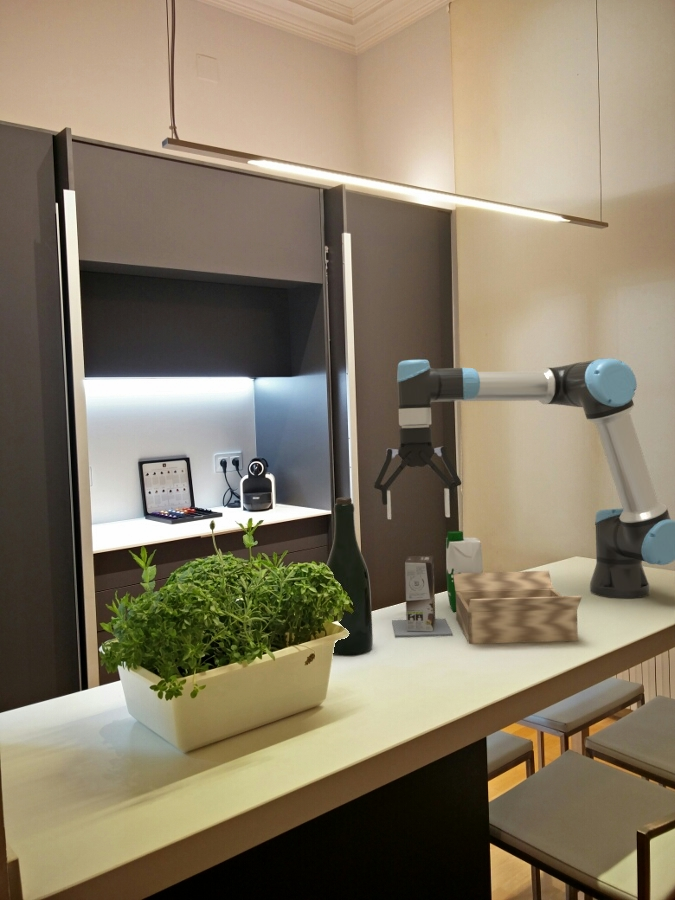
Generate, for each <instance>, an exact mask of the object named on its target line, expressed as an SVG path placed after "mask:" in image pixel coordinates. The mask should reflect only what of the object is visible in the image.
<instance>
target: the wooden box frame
mask: <svg viewBox="0 0 675 900" xmlns="http://www.w3.org/2000/svg"><path fill="white" fill-rule="evenodd" d="M453 577H454V584H455V591H456V613H455V616H456V618H455V621H456V622H457V624H458V626H459V627H460V630H461V631H462V633H463V635H464V637H465V639H466V641H467V643H468V644H472V645H473V644H501V643H503V644H505V643H534V642H535V643H537V642H539V643H541V642H569V641H570V642H575V641H577V642H578V641H579V637H578V636H579V635H578V633H579V632H578V628H579V627H578V608H579V607H580V603H581V601H582V598H583V596H582V595H564V596H563V595H561V594H560V593H559V592H557V590H556V589H554V586H553V583H552V578H551V574H550V570H533V571H532V570H530V571H529V570H527V571H503V572H502V571H501V572H500V571H497V572H483V573H461V574H453Z"/></svg>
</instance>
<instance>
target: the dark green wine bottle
mask: <svg viewBox="0 0 675 900" xmlns="http://www.w3.org/2000/svg"><path fill="white" fill-rule="evenodd" d="M333 506H334V507H333V512H334V513H333V514H334V535H333V536H334V537H333V542H332V546H331V550H330V552H329V556H328V560H327V561H326V565H327V566H328V567H329V568H330V569H331V570H332V572H333V574H334V578H335V579H336V580H337V581H338V582H339V583H340V584H341V585H342V587H343V588H344V590H345V591H346V592H347V593H348V595H349V597H350V599H351V600H352V602H353V606H354V612H353V613H352V614H351V613H348V612H345V613H344V615H343V618H342V620H341V621H340V622H339V623H340V624H341V625H342V626H343V627H344V628H346V629H347V630H348V631H349V633H350V634H349V636H348V637H347V638H345V639H341V640H338V641H337V642H336V643H335V647H334V653H333V654H334V655H341V656H353V655H355V656H356V655H361V654H365V653H367V652H369V651H370V650H371V649H372V648H373V646H374V645H373V643H374V641H373V640H374V639H373V638H374V637H373V636H374V635H373V616H372V615H373V614H372V596H371V595H372V594H371V583H370V574H369V570H368V566H367V564H366V561H365V558H364V556H363V554H362V552H361V549H360V546H359V543H358V539H357V533H356V525H355V524H356V523H355V505H354V503H352V498H351V497H338V498H336V499H335V504H334V505H333Z"/></svg>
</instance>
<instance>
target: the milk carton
mask: <svg viewBox="0 0 675 900" xmlns="http://www.w3.org/2000/svg"><path fill="white" fill-rule="evenodd" d="M446 534H447V536H446V538H445V539H446V543H445V544H446V546H445V547H446V548H445V550H446V553H445V554H446V555H445V557H446V560H445V561H446V563H445V564H446V565H445V567H446V588H447V589H446V590H447V596H448V603H449V607H450V608H451V611H452V613H453V612H456V591H455V584H454V577H453V574H461V573H484V568H483V564H484V563H483V550H482V541H480V539H478V538H477V537H466V536H464V531H462V530H451V531H447V532H446Z"/></svg>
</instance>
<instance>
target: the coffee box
mask: <svg viewBox="0 0 675 900" xmlns="http://www.w3.org/2000/svg"><path fill="white" fill-rule="evenodd" d="M434 570H435V566H434V555H415V556H414V555H413V556H411V555H410V556H409V555H408V556H407V557H406V559H405V562H404V572H405V573H404V577H405V579H404V581H405V613H406V615H405V616H406V617H405V620H406V623H407V631H423V632H433V630H434V625H435V619H436V602H435V601H436V595H435V593H436V592H435V571H434Z"/></svg>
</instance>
